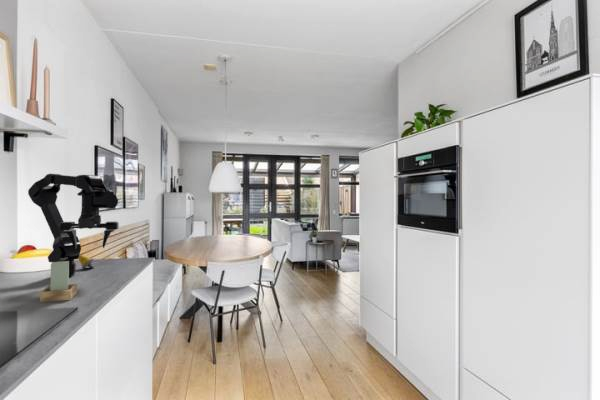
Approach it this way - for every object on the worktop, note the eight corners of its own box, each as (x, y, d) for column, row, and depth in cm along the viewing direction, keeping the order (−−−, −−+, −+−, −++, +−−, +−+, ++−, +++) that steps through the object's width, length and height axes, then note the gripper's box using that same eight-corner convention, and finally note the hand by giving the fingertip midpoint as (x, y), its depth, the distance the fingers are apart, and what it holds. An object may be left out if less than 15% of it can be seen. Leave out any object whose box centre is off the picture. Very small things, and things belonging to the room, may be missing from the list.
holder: (40, 302, 96) (40, 292, 96) (48, 294, 104) (48, 285, 104) (71, 299, 100) (71, 290, 100) (77, 292, 107) (77, 283, 107)
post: (50, 300, 98) (50, 264, 98) (51, 296, 102) (52, 262, 102) (67, 298, 101) (68, 263, 101) (68, 294, 105) (69, 260, 105)
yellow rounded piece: (89, 271, 137) (70, 255, 136) (88, 274, 141) (69, 259, 139) (100, 262, 141) (81, 247, 139) (98, 265, 145) (80, 250, 143)
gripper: (54, 208, 112) (53, 252, 112) (115, 208, 119) (114, 250, 120) (63, 207, 122) (62, 247, 122) (119, 207, 130) (118, 246, 130)
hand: (89, 248), depth 123 cm, fingers open, 9 cm apart
